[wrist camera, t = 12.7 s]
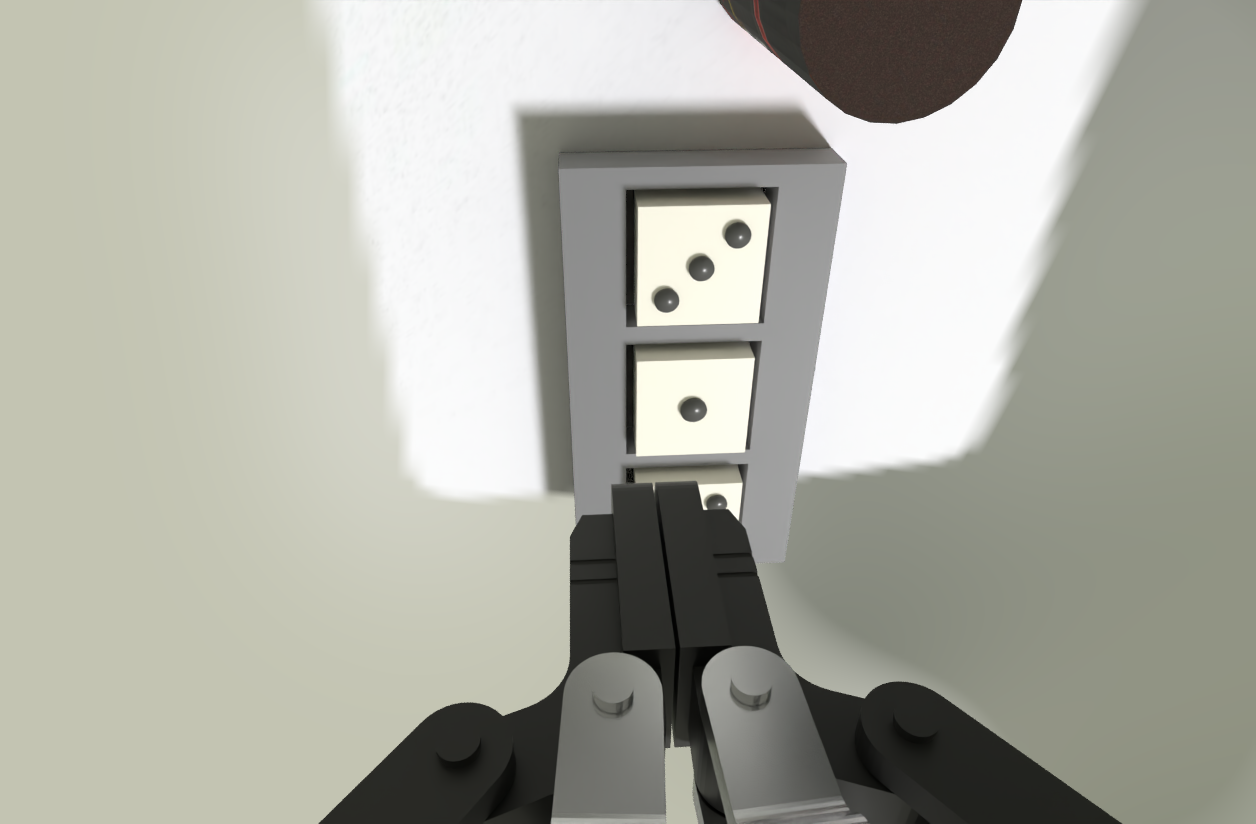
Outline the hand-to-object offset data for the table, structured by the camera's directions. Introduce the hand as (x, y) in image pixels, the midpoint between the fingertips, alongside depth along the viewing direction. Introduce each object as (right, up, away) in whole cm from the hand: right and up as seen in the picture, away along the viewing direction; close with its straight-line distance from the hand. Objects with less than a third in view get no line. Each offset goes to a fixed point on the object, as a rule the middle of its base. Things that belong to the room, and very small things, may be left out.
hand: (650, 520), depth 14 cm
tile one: (+3, +4, +29) cm, 30 cm away
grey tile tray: (+3, +4, +30) cm, 31 cm away
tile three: (+3, +10, +25) cm, 27 cm away
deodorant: (+6, +21, +19) cm, 29 cm away
